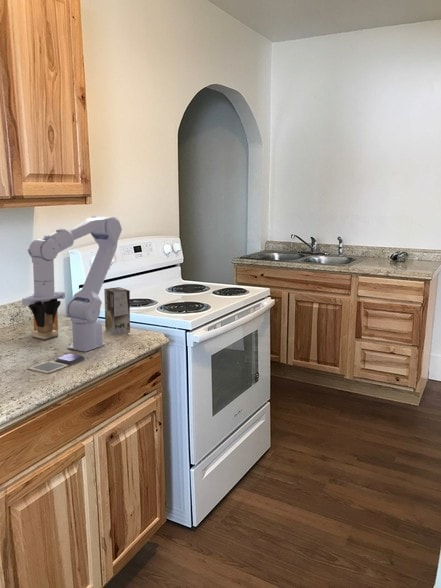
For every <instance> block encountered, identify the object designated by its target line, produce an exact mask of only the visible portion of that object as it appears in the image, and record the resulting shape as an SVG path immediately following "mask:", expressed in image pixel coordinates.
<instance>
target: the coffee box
mask: <svg viewBox="0 0 441 588" xmlns="http://www.w3.org/2000/svg"><path fill="white" fill-rule="evenodd" d="M103 290H104V293H103V295H104V323H105V332H107V333H109V334H110V335H113V336H114V337H116V336H117V335H118V336H123V334H126V335H129V334H128V333H130V334H131V312H130V311H131V307H130V306H131V303H130V302H131V295H130V293H131V291H130V290H129V289H126V288H123V287H118V286H117V287H109V288H104V289H103Z"/></svg>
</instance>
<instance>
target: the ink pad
mask: <svg viewBox="0 0 441 588" xmlns="http://www.w3.org/2000/svg"><path fill="white" fill-rule="evenodd" d="M85 360H86V359H85V356H83V355H79V354H72V353H67V354H64V355H61V356H59V357H56V359H54V362H58V363H63V364H67V365H69V366H73V365H75V364H78V363H80V362H83V361H85Z"/></svg>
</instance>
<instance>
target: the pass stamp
mask: <svg viewBox="0 0 441 588" xmlns="http://www.w3.org/2000/svg"><path fill="white" fill-rule="evenodd" d="M58 337H59V330H58V331H55V330H53V320H52V315H50V314H45V322H44V327H38V330H37V331H34V330H33V331H32V339H35V340H40V341H44V342H45V341H49V340H53V339H56V338H58Z"/></svg>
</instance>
